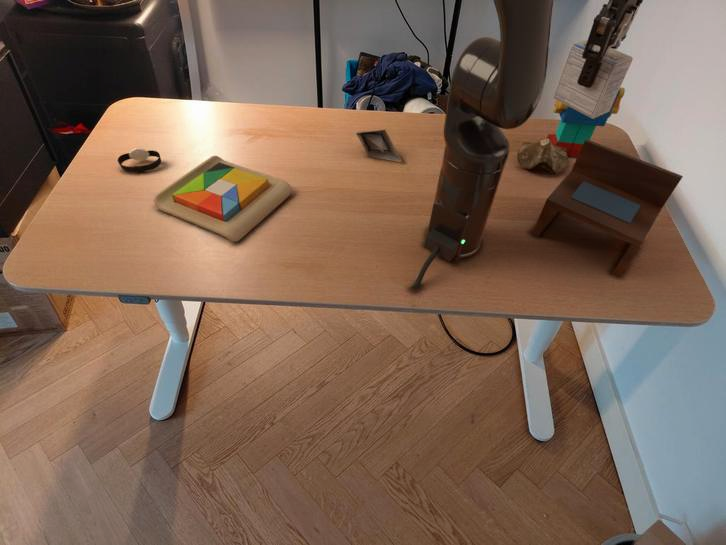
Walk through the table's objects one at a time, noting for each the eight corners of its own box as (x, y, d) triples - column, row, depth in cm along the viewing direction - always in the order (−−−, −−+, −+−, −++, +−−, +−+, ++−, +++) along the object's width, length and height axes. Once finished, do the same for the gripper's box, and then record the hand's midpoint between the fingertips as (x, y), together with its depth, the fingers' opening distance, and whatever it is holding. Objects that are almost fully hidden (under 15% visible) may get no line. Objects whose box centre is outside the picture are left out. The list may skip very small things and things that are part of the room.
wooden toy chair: (620, 276, 79) (662, 212, 69) (532, 233, 86) (559, 168, 75) (641, 239, 86) (683, 175, 76) (558, 202, 92) (586, 138, 82)
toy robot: (589, 145, 107) (642, 28, 89) (595, 160, 103) (652, 41, 85) (537, 140, 107) (580, 23, 89) (542, 155, 103) (587, 36, 85)
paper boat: (403, 139, 103) (416, 152, 95) (387, 164, 105) (399, 179, 98) (357, 111, 98) (367, 122, 90) (342, 138, 100) (350, 151, 92)
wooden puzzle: (218, 161, 96) (215, 146, 94) (294, 192, 90) (293, 177, 88) (152, 207, 86) (146, 191, 83) (234, 246, 80) (230, 231, 77)
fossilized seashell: (573, 153, 100) (525, 145, 104) (574, 135, 94) (524, 128, 98) (561, 184, 99) (514, 175, 103) (562, 169, 93) (512, 159, 97)
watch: (162, 157, 96) (157, 141, 94) (163, 170, 93) (158, 154, 91) (121, 163, 94) (115, 147, 92) (121, 176, 91) (114, 160, 89)
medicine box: (609, 113, 74) (635, 57, 68) (592, 120, 72) (617, 63, 66) (568, 92, 79) (589, 37, 72) (551, 98, 77) (571, 43, 70)
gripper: (631, -67, 65) (583, 57, 78) (596, -48, 57) (549, 87, 70) (689, -56, 62) (629, 71, 75) (660, -34, 54) (599, 104, 67)
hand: (591, 78), depth 72 cm, fingers closed on medicine box, 5 cm apart
